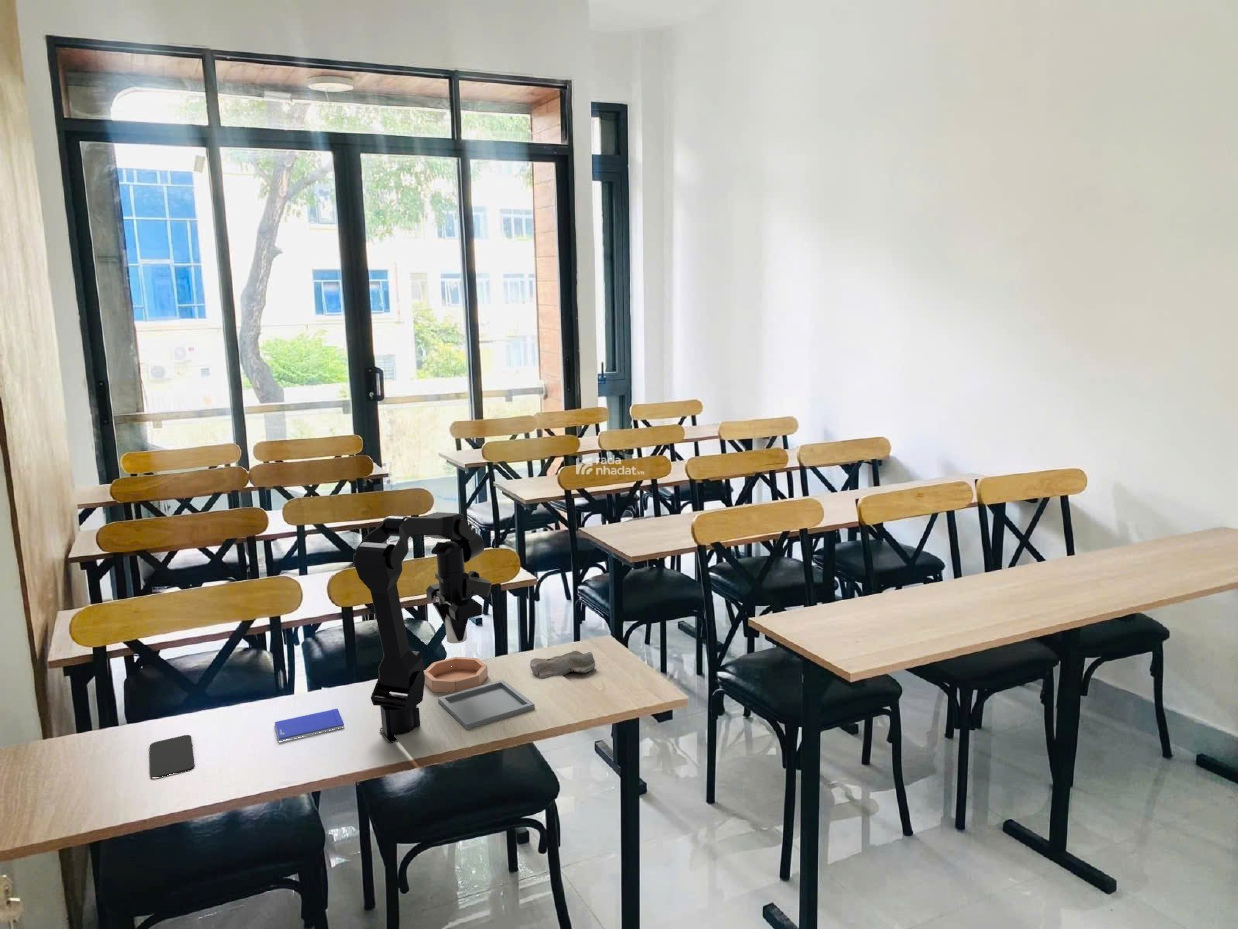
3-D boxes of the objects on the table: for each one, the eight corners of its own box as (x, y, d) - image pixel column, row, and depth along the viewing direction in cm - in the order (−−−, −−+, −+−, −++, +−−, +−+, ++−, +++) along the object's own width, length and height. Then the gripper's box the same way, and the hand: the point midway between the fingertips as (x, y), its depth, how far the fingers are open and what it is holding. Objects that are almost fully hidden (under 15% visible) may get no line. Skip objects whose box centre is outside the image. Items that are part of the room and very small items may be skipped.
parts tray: (467, 734, 171) (466, 724, 171) (438, 706, 184) (438, 697, 183) (535, 713, 179) (534, 704, 179) (503, 688, 191) (502, 679, 191)
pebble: (451, 645, 189) (449, 623, 188) (443, 638, 193) (442, 617, 192) (470, 640, 191) (468, 618, 190) (462, 634, 195) (461, 613, 194)
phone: (149, 778, 158) (149, 743, 171) (150, 782, 158) (149, 747, 171) (195, 767, 161) (191, 733, 174) (195, 771, 161) (191, 737, 174)
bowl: (439, 702, 186) (438, 686, 185) (418, 681, 197) (417, 666, 196) (495, 686, 193) (494, 671, 192) (471, 667, 203) (470, 653, 203)
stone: (536, 686, 193) (535, 669, 192) (526, 670, 202) (525, 653, 201) (599, 675, 197) (598, 658, 197) (586, 659, 206) (586, 643, 206)
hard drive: (278, 738, 170) (343, 723, 175) (274, 721, 177) (337, 707, 183) (279, 745, 170) (344, 730, 176) (275, 728, 177) (338, 714, 183)
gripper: (503, 572, 185) (507, 642, 188) (469, 553, 201) (474, 617, 204) (453, 583, 179) (458, 654, 182) (422, 562, 195) (428, 628, 198)
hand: (456, 637), depth 192 cm, fingers closed on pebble, 4 cm apart
